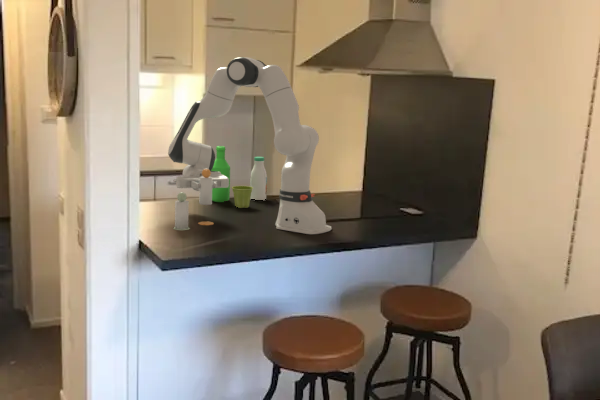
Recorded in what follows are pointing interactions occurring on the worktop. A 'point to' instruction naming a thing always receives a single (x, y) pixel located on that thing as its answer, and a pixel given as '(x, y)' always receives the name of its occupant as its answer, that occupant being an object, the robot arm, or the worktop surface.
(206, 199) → the orange ball tube
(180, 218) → the green ball tube
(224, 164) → the bottle
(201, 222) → the card
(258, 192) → the milk bottle
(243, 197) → the plant pot
